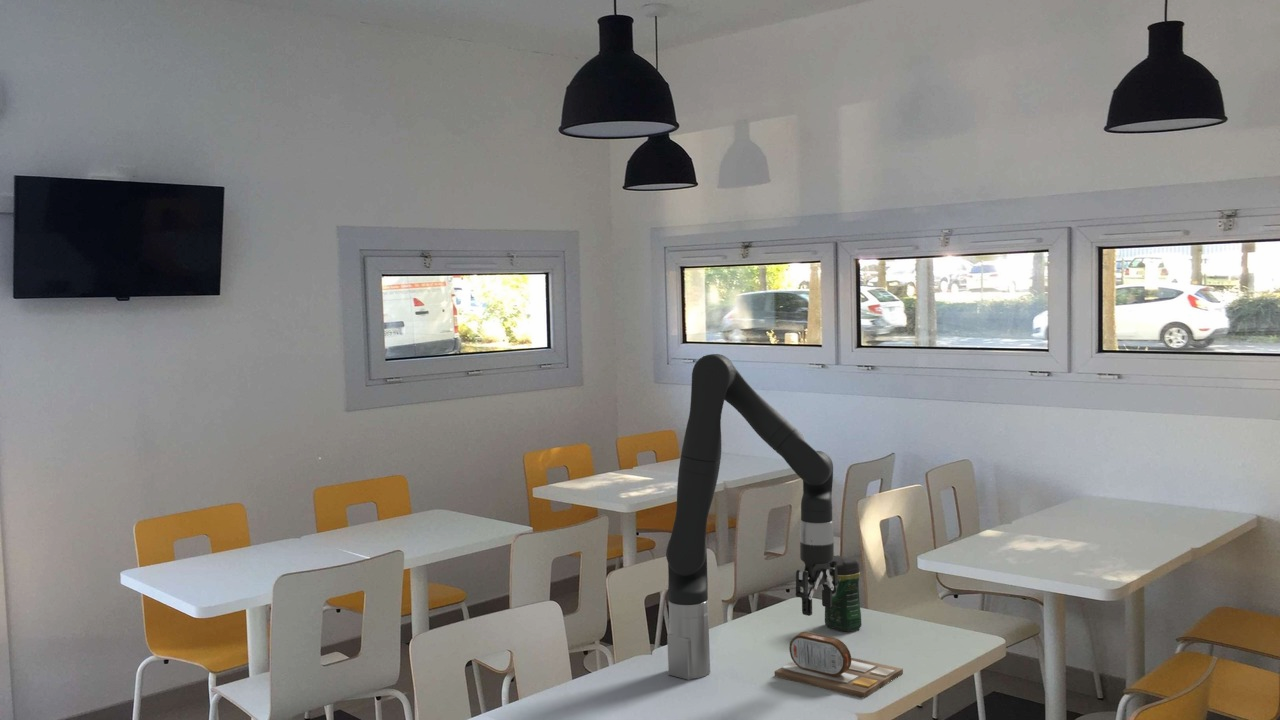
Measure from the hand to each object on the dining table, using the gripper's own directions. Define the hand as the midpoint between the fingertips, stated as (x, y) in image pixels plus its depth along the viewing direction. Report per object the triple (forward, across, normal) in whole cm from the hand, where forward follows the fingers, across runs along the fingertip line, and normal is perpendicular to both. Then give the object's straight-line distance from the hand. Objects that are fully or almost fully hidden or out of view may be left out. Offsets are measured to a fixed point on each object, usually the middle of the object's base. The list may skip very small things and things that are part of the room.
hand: (817, 610), depth 233 cm
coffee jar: (+16, +36, +14) cm, 42 cm away
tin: (+14, 0, 0) cm, 14 cm away
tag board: (+15, +4, -3) cm, 16 cm away
